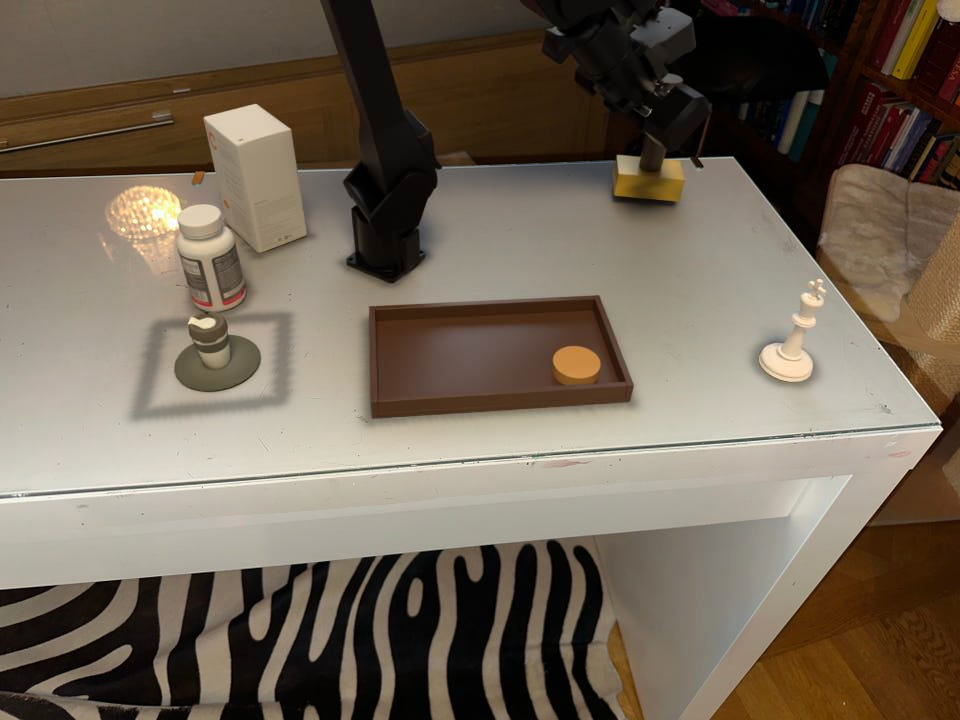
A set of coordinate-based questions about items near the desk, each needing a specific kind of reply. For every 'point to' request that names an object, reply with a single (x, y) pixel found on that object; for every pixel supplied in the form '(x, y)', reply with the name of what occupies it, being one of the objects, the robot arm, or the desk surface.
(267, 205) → the small box
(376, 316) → the tray
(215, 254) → the pill bottle
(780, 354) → the chess piece
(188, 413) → the desk surface
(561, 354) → the disc
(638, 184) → the sponge wand
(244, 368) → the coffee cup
